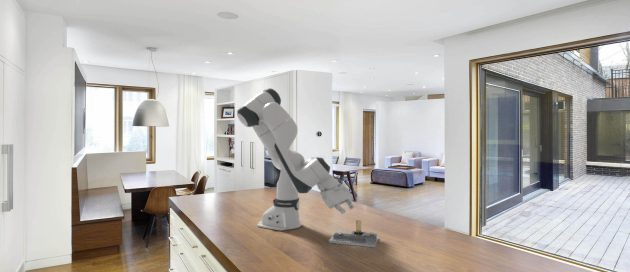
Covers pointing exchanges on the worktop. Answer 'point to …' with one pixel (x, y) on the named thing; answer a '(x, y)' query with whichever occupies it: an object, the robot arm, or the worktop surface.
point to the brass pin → (358, 227)
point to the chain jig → (355, 239)
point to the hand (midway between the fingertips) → (348, 210)
